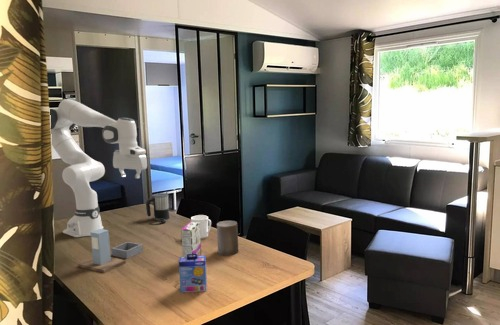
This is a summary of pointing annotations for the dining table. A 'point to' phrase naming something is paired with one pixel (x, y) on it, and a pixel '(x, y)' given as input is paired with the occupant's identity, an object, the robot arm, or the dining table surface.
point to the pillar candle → (227, 237)
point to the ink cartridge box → (192, 273)
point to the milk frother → (159, 207)
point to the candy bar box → (191, 239)
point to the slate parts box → (100, 246)
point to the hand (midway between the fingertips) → (130, 177)
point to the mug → (202, 224)
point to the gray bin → (124, 252)
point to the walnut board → (104, 267)
